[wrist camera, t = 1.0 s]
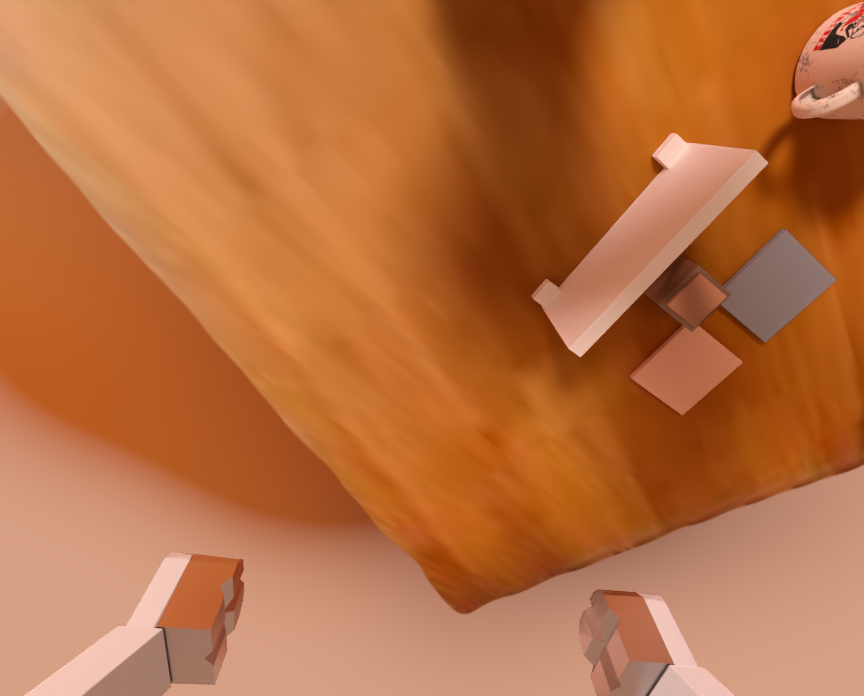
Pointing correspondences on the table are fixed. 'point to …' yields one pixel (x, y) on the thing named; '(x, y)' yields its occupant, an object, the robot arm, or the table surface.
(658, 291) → the cube with pink top
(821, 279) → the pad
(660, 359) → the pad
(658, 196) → the screen
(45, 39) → the table surface
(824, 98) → the teacup with lid
